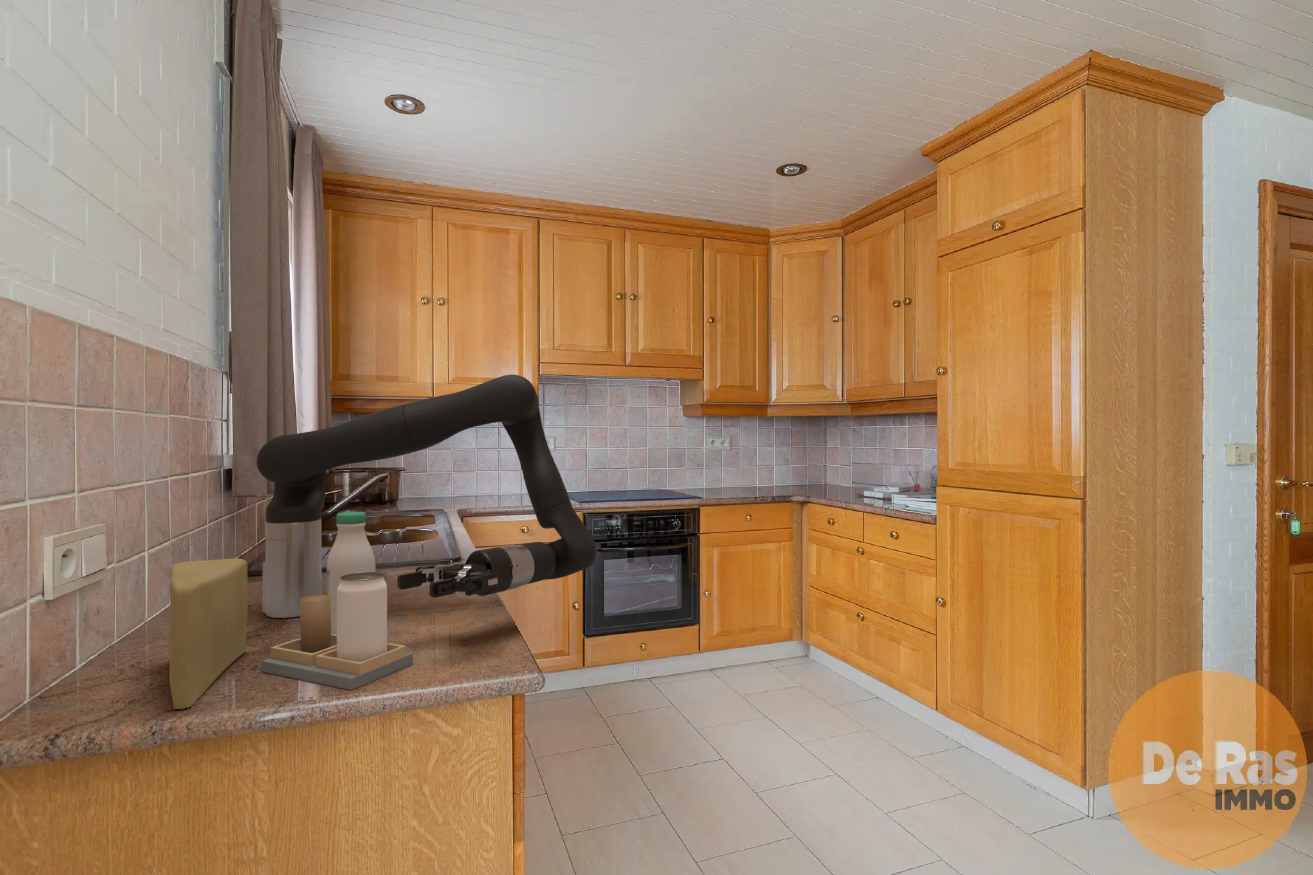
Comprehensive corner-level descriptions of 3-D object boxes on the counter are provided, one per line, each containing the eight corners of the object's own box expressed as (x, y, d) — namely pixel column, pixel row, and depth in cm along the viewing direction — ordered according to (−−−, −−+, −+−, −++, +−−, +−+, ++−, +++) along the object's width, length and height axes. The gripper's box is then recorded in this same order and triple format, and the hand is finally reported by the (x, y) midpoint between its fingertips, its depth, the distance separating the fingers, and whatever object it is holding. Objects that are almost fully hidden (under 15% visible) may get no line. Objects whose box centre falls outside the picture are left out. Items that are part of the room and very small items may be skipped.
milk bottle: (385, 625, 117) (385, 511, 117) (352, 638, 110) (352, 516, 110) (350, 621, 120) (350, 509, 120) (315, 633, 112) (315, 514, 112)
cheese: (228, 704, 83) (228, 583, 83) (131, 718, 79) (131, 591, 79) (248, 652, 103) (248, 554, 103) (171, 661, 99) (171, 559, 99)
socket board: (261, 671, 95) (261, 604, 94) (327, 648, 105) (327, 587, 105) (351, 690, 88) (351, 617, 88) (413, 663, 98) (413, 598, 98)
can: (367, 670, 91) (367, 581, 91) (326, 666, 92) (326, 579, 92) (396, 655, 97) (396, 572, 97) (357, 651, 98) (357, 569, 98)
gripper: (474, 542, 118) (388, 556, 105) (528, 551, 109) (442, 567, 96) (474, 585, 118) (388, 604, 105) (528, 597, 109) (442, 619, 96)
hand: (414, 586), depth 101 cm, fingers open, 8 cm apart
